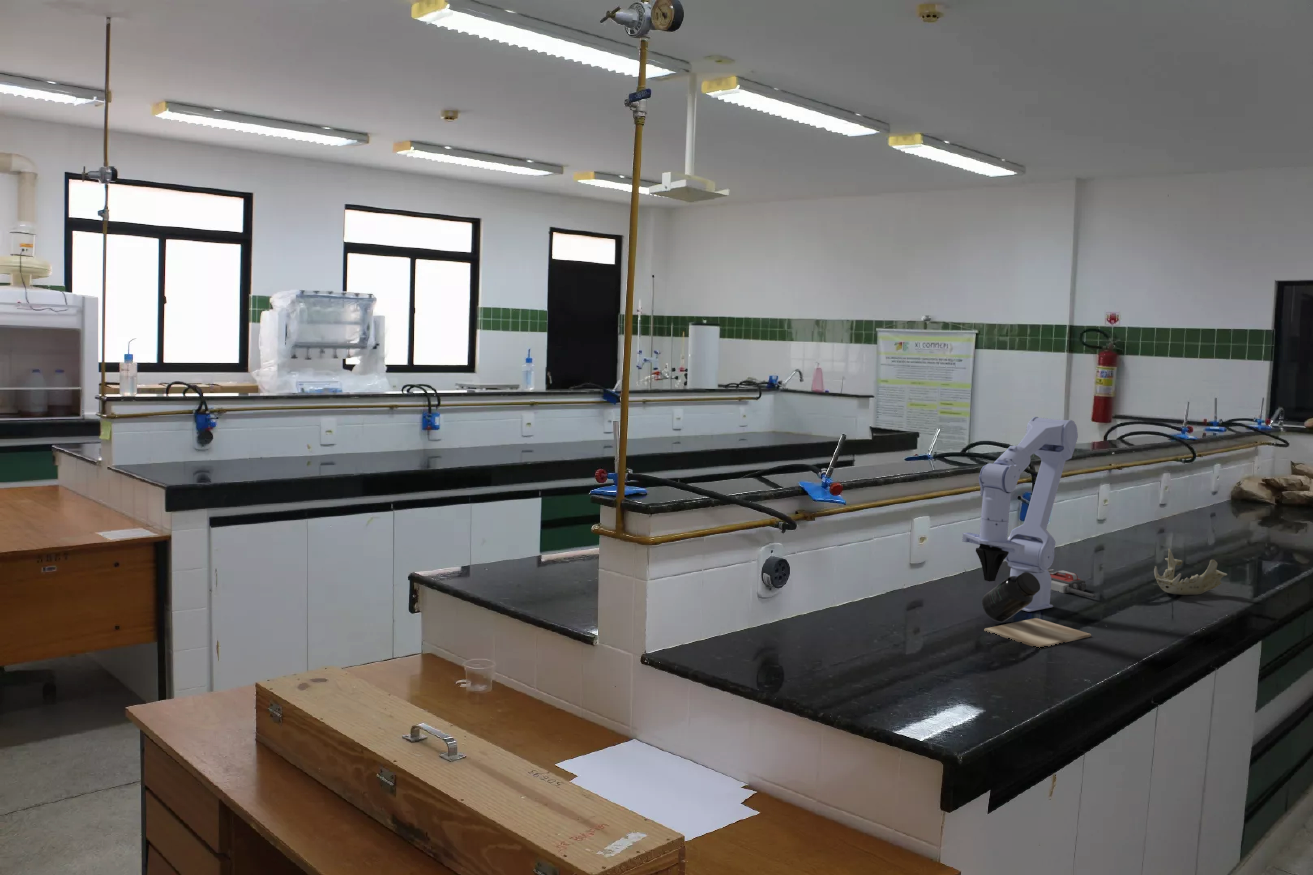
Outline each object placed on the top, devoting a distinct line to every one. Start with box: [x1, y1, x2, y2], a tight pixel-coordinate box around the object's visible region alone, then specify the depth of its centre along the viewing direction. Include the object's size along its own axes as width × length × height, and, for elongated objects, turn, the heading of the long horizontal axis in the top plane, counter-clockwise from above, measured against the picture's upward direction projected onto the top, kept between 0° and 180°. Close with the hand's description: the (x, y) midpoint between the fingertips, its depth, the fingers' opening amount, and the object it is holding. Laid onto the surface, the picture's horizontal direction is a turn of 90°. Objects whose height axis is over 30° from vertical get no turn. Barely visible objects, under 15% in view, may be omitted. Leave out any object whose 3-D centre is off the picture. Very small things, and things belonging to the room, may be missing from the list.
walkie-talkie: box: [1047, 569, 1097, 599], centre depth 247 cm, size 9×4×20 cm
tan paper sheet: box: [983, 617, 1092, 649], centre depth 206 cm, size 18×13×1 cm
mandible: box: [1153, 548, 1228, 596], centre depth 248 cm, size 19×16×10 cm
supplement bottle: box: [981, 572, 1040, 623], centre depth 211 cm, size 7×7×12 cm
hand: (989, 580), depth 216 cm, fingers closed
